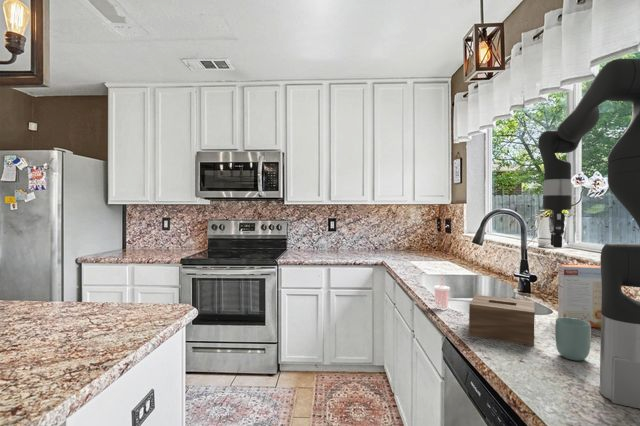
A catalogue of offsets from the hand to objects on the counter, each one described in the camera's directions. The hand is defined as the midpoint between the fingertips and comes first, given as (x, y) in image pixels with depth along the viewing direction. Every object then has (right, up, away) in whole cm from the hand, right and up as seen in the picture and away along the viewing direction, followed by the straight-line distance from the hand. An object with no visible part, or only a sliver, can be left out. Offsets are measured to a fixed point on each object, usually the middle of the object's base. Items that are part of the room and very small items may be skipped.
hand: (556, 246), depth 115 cm
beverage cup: (-25, -28, +33) cm, 50 cm away
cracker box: (+19, -29, +15) cm, 38 cm away
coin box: (-14, -29, +5) cm, 32 cm away
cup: (-5, -29, -14) cm, 33 cm away
